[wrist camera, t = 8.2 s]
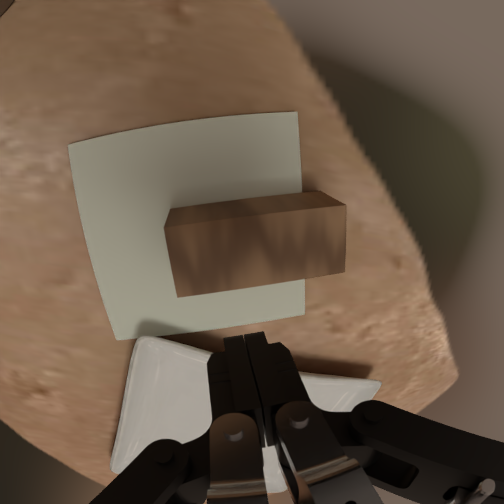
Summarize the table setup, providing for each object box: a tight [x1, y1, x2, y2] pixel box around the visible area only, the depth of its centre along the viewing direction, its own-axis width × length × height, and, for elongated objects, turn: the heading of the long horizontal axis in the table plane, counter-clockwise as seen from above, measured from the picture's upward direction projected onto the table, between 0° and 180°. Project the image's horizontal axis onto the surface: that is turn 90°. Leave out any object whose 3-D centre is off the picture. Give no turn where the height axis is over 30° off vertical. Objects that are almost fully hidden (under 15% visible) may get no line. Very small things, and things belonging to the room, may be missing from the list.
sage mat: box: [68, 112, 305, 340], centre depth 25 cm, size 18×18×1 cm
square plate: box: [110, 335, 382, 493], centre depth 34 cm, size 27×27×4 cm
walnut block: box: [164, 191, 346, 298], centre depth 23 cm, size 5×5×12 cm
